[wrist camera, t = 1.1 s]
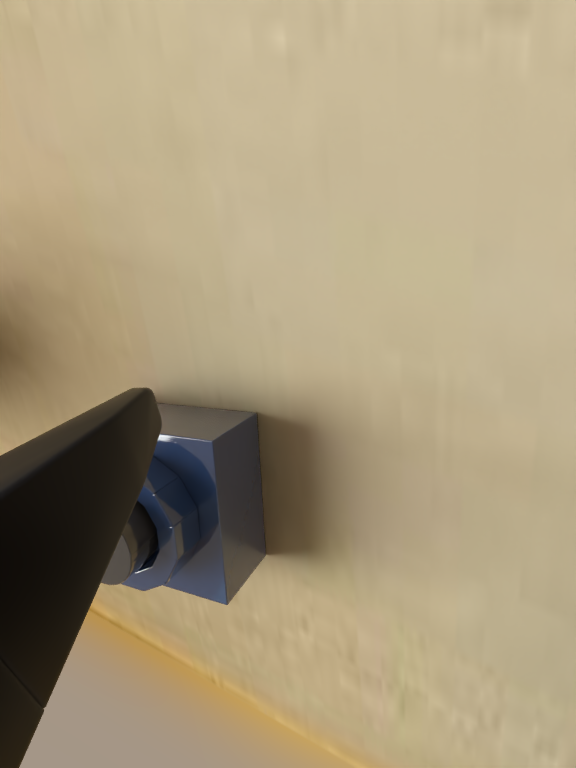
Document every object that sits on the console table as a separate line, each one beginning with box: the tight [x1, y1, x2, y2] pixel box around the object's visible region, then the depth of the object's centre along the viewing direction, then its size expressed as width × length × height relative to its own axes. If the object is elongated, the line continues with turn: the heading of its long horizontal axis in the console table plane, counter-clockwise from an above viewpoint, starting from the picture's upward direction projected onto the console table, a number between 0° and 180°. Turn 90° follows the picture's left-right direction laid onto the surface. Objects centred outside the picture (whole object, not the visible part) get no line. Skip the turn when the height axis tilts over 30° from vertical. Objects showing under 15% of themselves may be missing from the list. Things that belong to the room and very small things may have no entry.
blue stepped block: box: [120, 403, 266, 605], centre depth 27 cm, size 10×10×7 cm
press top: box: [101, 501, 158, 585], centre depth 23 cm, size 4×4×2 cm
